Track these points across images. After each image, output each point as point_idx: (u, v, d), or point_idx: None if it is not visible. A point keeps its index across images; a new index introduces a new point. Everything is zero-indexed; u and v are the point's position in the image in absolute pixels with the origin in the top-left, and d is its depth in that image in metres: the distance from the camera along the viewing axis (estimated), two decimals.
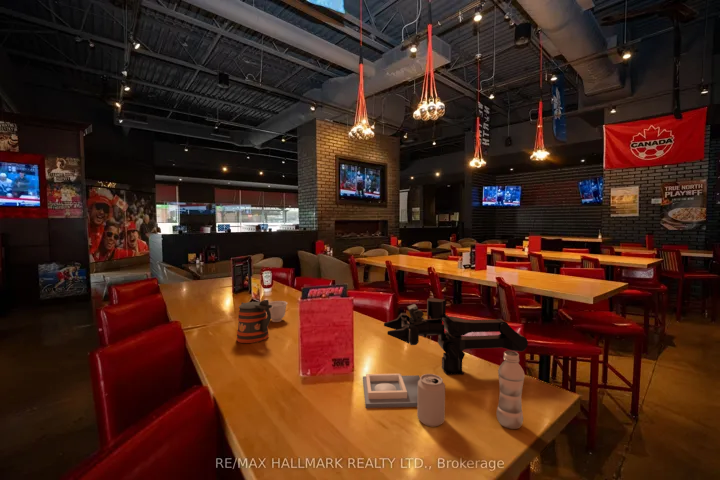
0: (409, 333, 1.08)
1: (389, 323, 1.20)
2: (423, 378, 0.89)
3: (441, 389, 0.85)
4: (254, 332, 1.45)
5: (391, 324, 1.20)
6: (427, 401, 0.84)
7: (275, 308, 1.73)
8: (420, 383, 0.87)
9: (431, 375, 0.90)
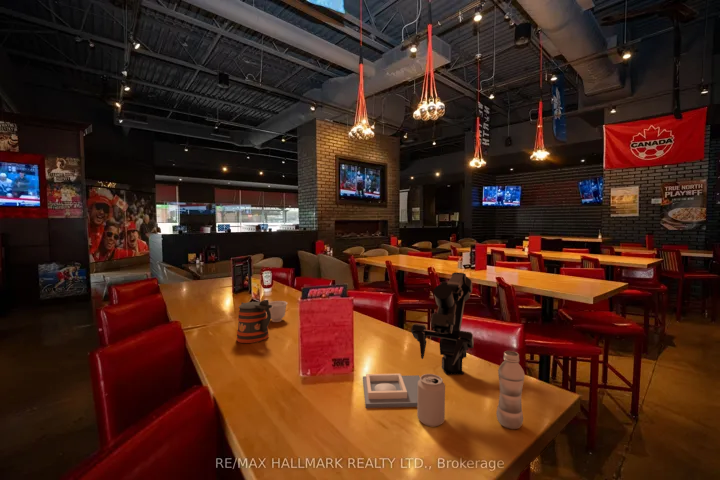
0: (467, 342, 0.95)
1: (423, 351, 0.97)
2: (423, 378, 0.89)
3: (441, 389, 0.85)
4: (254, 332, 1.45)
5: (423, 349, 0.98)
6: (427, 401, 0.84)
7: (275, 308, 1.73)
8: (420, 383, 0.87)
9: (431, 375, 0.90)
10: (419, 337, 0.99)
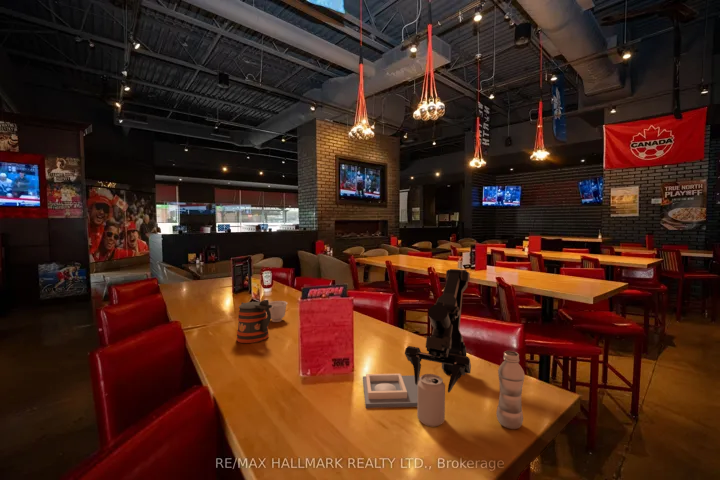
0: (463, 368, 0.89)
1: (417, 376, 0.92)
2: (423, 378, 0.89)
3: (441, 389, 0.85)
4: (254, 332, 1.45)
5: (418, 374, 0.92)
6: (427, 401, 0.84)
7: (275, 308, 1.73)
8: (420, 383, 0.87)
9: (431, 375, 0.90)
10: (413, 361, 0.94)
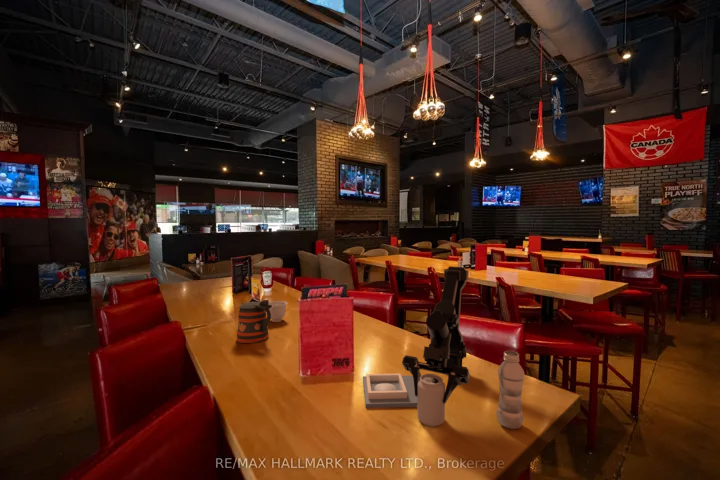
0: (459, 378, 0.87)
1: (417, 387, 0.89)
2: (423, 378, 0.89)
3: (441, 389, 0.85)
4: (254, 332, 1.45)
5: None
6: (427, 401, 0.84)
7: (275, 308, 1.73)
8: (420, 383, 0.87)
9: (431, 375, 0.90)
10: (413, 371, 0.91)
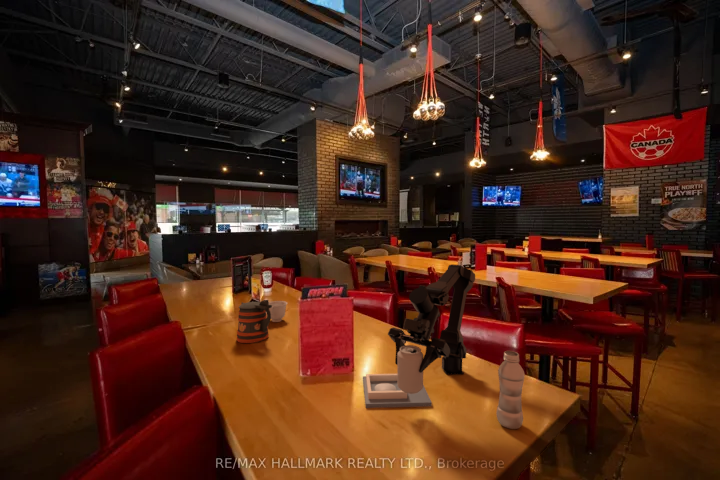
0: (438, 350, 0.90)
1: None
2: (403, 348, 0.93)
3: (417, 359, 0.89)
4: (254, 332, 1.45)
5: None
6: (403, 368, 0.89)
7: (275, 308, 1.73)
8: (399, 352, 0.92)
9: (412, 346, 0.94)
10: (396, 342, 0.96)
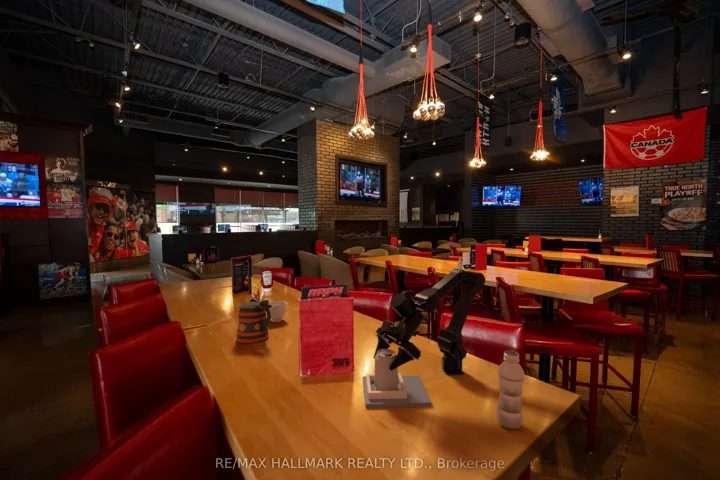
0: (408, 353, 0.97)
1: None
2: (382, 351, 1.04)
3: (387, 362, 0.98)
4: (254, 332, 1.45)
5: None
6: (376, 368, 1.00)
7: (275, 308, 1.73)
8: (377, 354, 1.03)
9: (391, 351, 1.04)
10: (378, 339, 1.08)
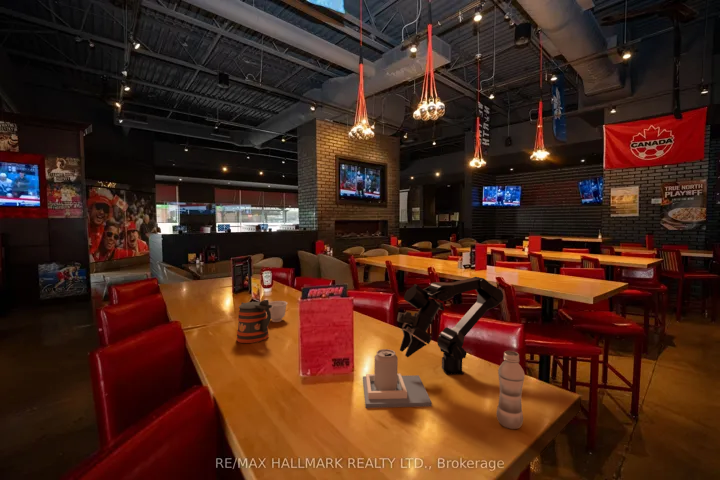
0: (417, 338, 1.03)
1: (403, 345, 1.14)
2: (382, 351, 1.04)
3: (387, 362, 0.99)
4: (254, 332, 1.45)
5: (405, 344, 1.15)
6: (376, 368, 1.01)
7: (275, 308, 1.73)
8: (376, 354, 1.03)
9: (391, 351, 1.04)
10: (403, 333, 1.17)
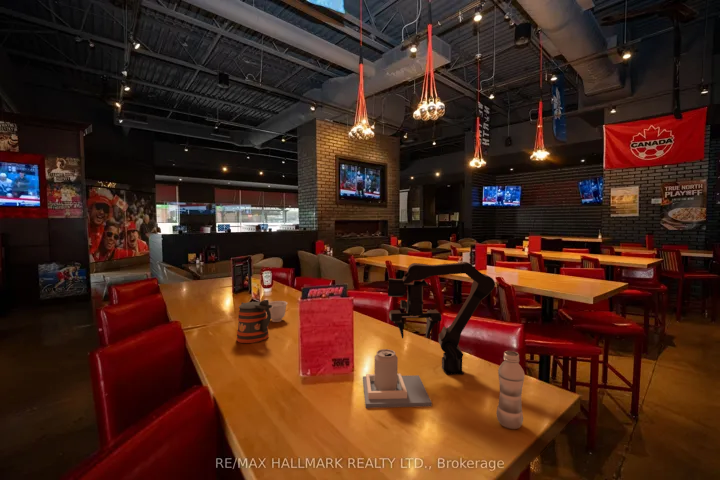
0: None
1: (426, 331, 1.19)
2: (382, 351, 1.04)
3: (387, 362, 0.99)
4: (254, 332, 1.45)
5: (426, 330, 1.19)
6: (376, 368, 1.01)
7: (275, 308, 1.73)
8: (376, 354, 1.03)
9: (391, 351, 1.04)
10: None
